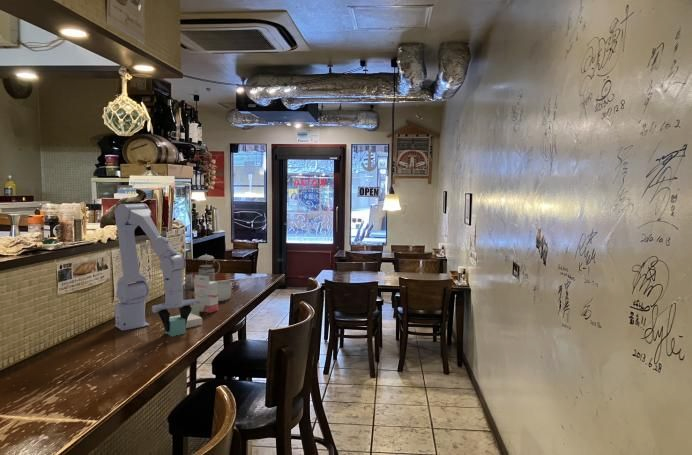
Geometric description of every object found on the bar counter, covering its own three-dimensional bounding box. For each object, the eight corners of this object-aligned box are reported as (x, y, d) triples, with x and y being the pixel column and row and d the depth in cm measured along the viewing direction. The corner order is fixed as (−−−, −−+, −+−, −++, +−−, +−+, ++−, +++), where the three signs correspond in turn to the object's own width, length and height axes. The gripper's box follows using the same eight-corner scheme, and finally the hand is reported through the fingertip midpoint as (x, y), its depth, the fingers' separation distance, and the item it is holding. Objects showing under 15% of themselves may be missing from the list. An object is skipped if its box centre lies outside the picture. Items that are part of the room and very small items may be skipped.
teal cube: (171, 336, 159) (170, 322, 159) (165, 333, 163) (164, 319, 162) (185, 333, 163) (185, 319, 162) (179, 330, 166) (179, 316, 166)
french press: (195, 283, 247) (194, 235, 245) (218, 281, 252) (217, 234, 250) (198, 287, 238) (196, 237, 236) (221, 285, 243) (220, 236, 241)
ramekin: (236, 295, 219) (236, 280, 219) (226, 302, 206) (226, 286, 206) (208, 295, 221) (208, 280, 220) (196, 302, 208) (196, 286, 207)
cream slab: (178, 330, 167) (177, 322, 167) (167, 325, 174) (167, 317, 173) (202, 325, 173) (202, 317, 173) (191, 320, 180) (191, 313, 179)
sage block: (188, 318, 182) (187, 306, 182) (183, 315, 186) (182, 304, 185) (199, 315, 185) (199, 304, 185) (194, 313, 189) (193, 302, 188)
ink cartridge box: (219, 310, 193) (218, 274, 192) (210, 313, 189) (209, 276, 188) (203, 307, 197) (202, 272, 196) (194, 310, 193) (193, 274, 192)
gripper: (157, 295, 154) (158, 336, 155) (199, 288, 163) (200, 327, 165) (148, 291, 159) (150, 331, 160) (190, 285, 169) (191, 323, 170)
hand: (175, 329), depth 163 cm, fingers closed on teal cube, 5 cm apart
